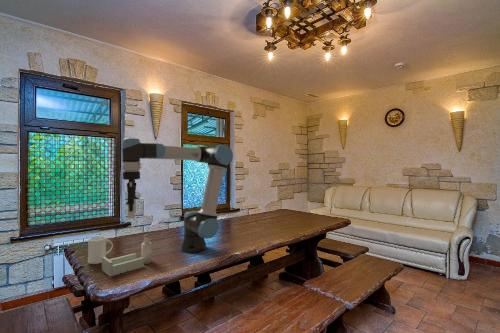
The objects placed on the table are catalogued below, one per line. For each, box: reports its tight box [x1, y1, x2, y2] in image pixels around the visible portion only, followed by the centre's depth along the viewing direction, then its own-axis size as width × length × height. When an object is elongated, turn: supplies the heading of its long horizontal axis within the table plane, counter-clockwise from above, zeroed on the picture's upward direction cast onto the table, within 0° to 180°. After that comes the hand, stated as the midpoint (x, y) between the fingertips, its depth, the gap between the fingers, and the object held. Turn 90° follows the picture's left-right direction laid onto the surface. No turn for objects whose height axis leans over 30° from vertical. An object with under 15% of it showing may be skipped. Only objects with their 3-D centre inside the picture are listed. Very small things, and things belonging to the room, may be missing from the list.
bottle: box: [140, 233, 153, 265], centre depth 139 cm, size 5×5×14 cm
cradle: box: [101, 252, 145, 278], centre depth 131 cm, size 16×10×6 cm, turn 138°
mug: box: [87, 236, 114, 265], centre depth 140 cm, size 12×8×12 cm
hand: (132, 215), depth 126 cm, fingers open, 13 cm apart
